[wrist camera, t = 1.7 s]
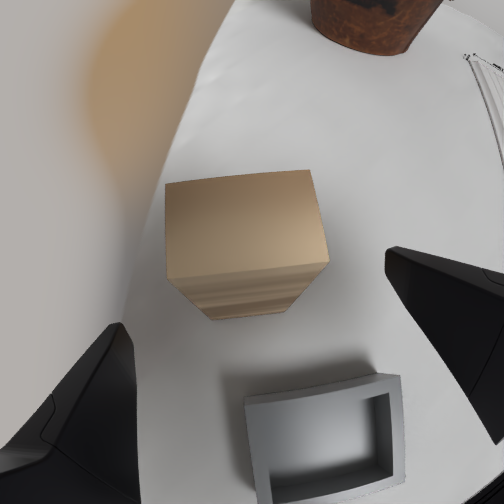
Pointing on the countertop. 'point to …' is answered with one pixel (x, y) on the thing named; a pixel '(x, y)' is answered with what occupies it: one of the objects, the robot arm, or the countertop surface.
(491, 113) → the baseboard
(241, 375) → the countertop surface
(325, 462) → the end cap
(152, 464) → the countertop surface
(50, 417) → the robot arm
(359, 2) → the brown tapered cylinder
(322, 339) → the countertop surface
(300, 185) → the slat
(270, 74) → the countertop surface
